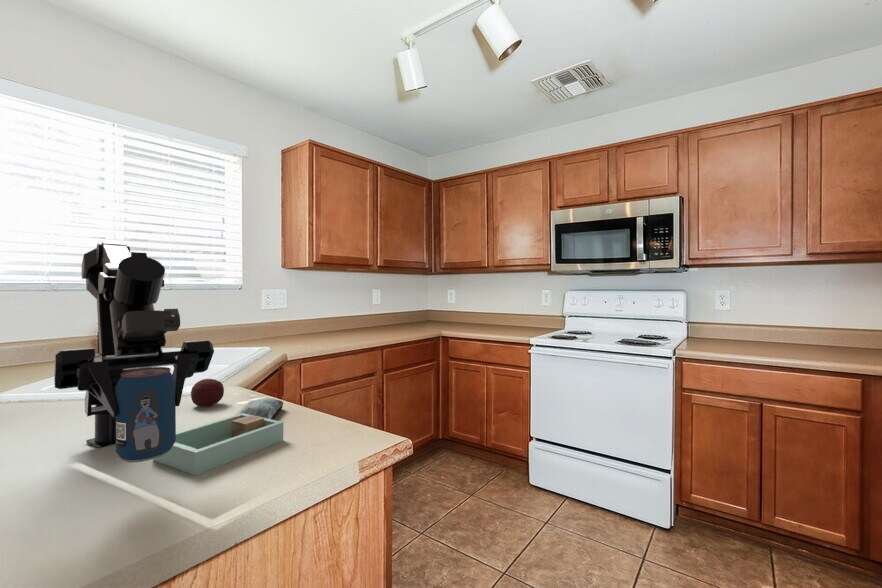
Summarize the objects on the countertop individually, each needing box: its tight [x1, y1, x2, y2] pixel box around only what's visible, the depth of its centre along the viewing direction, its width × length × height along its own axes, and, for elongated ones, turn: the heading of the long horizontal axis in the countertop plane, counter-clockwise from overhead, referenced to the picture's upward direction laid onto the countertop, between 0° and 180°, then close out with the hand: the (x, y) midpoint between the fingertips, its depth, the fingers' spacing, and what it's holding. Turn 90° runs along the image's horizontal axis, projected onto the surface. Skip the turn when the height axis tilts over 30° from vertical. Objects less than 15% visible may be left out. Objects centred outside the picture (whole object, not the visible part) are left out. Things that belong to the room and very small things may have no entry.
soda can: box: [115, 366, 177, 463], centre depth 57 cm, size 7×7×12 cm
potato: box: [190, 378, 225, 408], centre depth 104 cm, size 7×8×7 cm
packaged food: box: [235, 397, 284, 420], centre depth 92 cm, size 9×12×5 cm
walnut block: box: [232, 415, 264, 438], centre depth 77 cm, size 4×4×4 cm
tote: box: [152, 413, 284, 476], centre depth 73 cm, size 12×17×4 cm
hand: (148, 409), depth 56 cm, fingers closed on soda can, 7 cm apart
